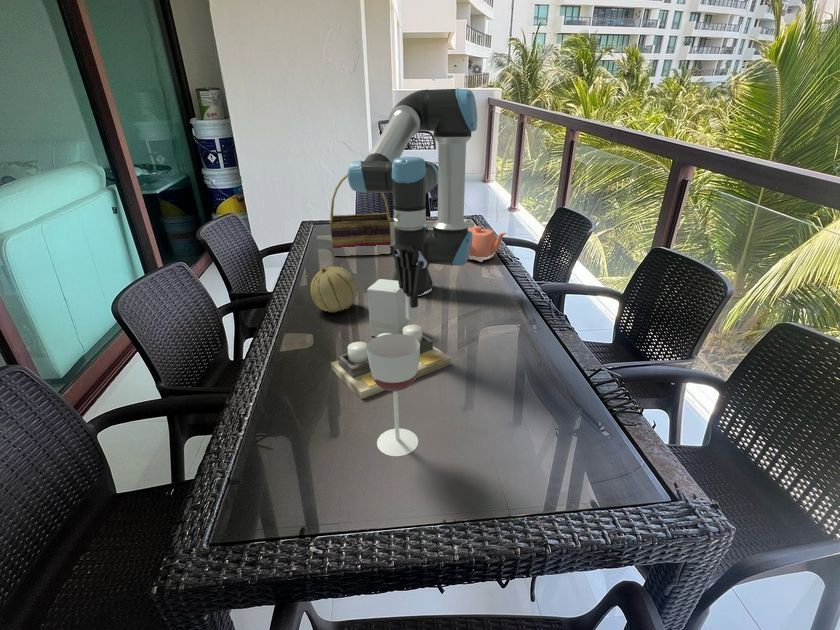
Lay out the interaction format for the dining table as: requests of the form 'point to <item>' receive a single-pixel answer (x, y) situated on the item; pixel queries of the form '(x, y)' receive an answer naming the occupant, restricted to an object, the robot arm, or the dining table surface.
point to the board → (361, 376)
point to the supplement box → (386, 307)
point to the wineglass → (394, 383)
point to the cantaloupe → (333, 289)
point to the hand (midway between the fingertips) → (411, 317)
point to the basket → (359, 227)
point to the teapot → (484, 242)
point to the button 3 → (413, 332)
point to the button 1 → (357, 353)
